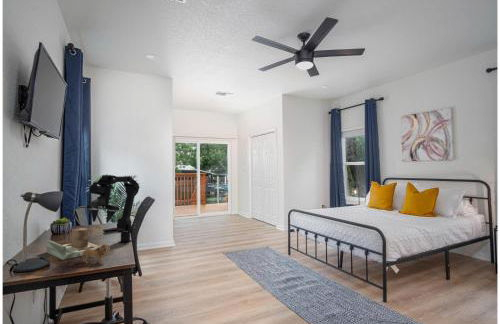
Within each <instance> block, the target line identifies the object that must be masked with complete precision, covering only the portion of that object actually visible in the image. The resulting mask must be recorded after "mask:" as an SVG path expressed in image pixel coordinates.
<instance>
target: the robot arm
mask: <svg viewBox="0 0 500 324" xmlns="http://www.w3.org/2000/svg"><path fill="white" fill-rule="evenodd" d="M117 183H123V186H124V188H125V189H124V190H125V194H126V197H125V201H124V202H125V203H124V207H123V210H122V214H121V217H120V218H118V219H117V223H116V230H117V233H120V240H119V241H118V243H122V244H123V243H126V244H127V243H130V242H132V241H133V239H131V234H132V233H134V231H135V228H134V226H132V220H131V215H132V211H133V210H132V209H133V205H134V200H135V197H136V196H137V194H138V193H139V190H140V184H138V183H139V182H138V181H136V180H135V179H134V178H133V177H132V176H131V175H120V176H119V175H117V176H116V175H113V174H102V175H101V177H100V178H99V179H98V181H94V182H93V183H91V185H90V187H88V188H89V189H88V192H89V193H90V194H92V195H98V196H97V198H96V199H94V200H91V201H90V203H87V205H86V209H87V210H88V211H89V212H90V214H91V217H92V222H93V223H95V222H96V219H97V217H98V214H99V209H101V210H106V221H105V222H106V224H107V223H109V222H110V220H111V219H112V217H113V216H115V213H118V212H119V211H120V206H119V205H111V204H110V201H111V200H112V197H111V195H112V190H115V188H114V186H113V185H115V184H117Z"/></svg>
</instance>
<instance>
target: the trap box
mask: <svg viewBox="0 0 500 324" xmlns="http://www.w3.org/2000/svg"><path fill="white" fill-rule="evenodd" d="M71 246H72V242H71V243H66V244H61V243H57V242H56V241H53V240H50V239H49V240H46V253H47V254H49V255H52V256H54V257H56V258H58V259H60V260H62V261H64V260H68V259H74V258H77V257H82V255H83V253H84V251H85V250H87V249H91V250H96V249H97V248H99V247H101V246H100V245H97V244H94V243H91V242H88V247H83V248H74V247H71ZM84 256H85V254H84Z"/></svg>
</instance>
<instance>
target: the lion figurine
mask: <svg viewBox="0 0 500 324" xmlns="http://www.w3.org/2000/svg"><path fill="white" fill-rule="evenodd" d="M110 249H111V248H110V244H107V243H105V244H102V245H101V246H100V247H99V248H97V249H96V250H91V249H87V250H85V251H84V253H83V255H82V256H81V259H80V260H78V263H81V262H84V263H85V264H89V261H88V258H89V256H90V257H92V258H97V261H98V264H102V262H103V260H102V258H103V257H105V256H106V255H108V254H109V253H110ZM84 254H85V255H84Z"/></svg>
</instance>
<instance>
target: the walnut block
mask: <svg viewBox="0 0 500 324" xmlns="http://www.w3.org/2000/svg"><path fill="white" fill-rule="evenodd" d="M71 243H72V246H71V247H74V248H83V247H88V243H89V228H85V227H80V228H72V229H71Z"/></svg>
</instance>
